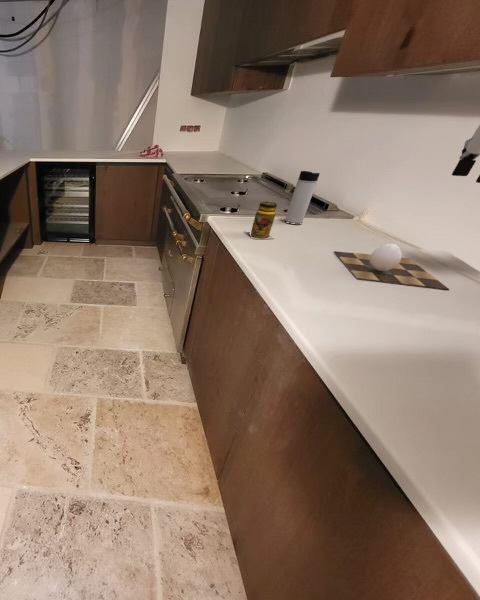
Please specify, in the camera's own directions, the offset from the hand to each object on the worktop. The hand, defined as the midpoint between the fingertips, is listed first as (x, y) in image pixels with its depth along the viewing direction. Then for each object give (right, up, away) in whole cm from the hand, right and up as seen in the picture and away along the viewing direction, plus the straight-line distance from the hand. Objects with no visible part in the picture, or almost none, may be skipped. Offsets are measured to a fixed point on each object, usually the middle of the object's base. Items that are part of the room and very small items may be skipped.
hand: (470, 179), depth 84 cm
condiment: (-37, -8, +34) cm, 51 cm away
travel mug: (-16, 0, +46) cm, 49 cm away
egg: (-17, -23, +8) cm, 30 cm away
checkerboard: (-14, -23, +10) cm, 28 cm away
